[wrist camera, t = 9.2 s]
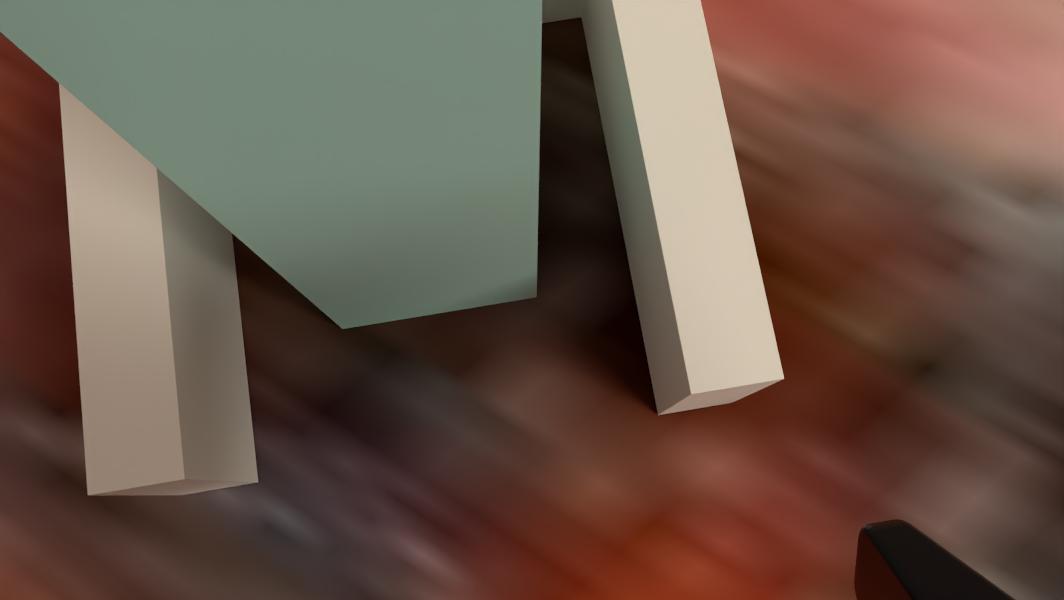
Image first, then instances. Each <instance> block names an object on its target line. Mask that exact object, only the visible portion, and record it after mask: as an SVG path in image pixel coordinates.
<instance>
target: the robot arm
mask: <svg viewBox="0 0 1064 600" xmlns="http://www.w3.org/2000/svg"><path fill="white" fill-rule="evenodd" d="M854 585H855V592H856V597H857V600H1015V599H1014V598H1012V597H1011V596H1010V595H1008V594H1007V593H1005V592H1004V591H1003V590H1001V589H1000V588H998V587H997V586H996V585H994V584H993V583H992V582H990V581H989V580H987V579H986V578H985V577H983V576H982V575H980V574H979V573H978V572H976V571H975V570H974V569H972V568H971V567H969V566H968V565H967V564H965V563H964V562H962V561H961V560H960V559H958V558H957V557H956V556H954V555H953V554H951V553H950V552H949V551H947V550H946V549H944V548H943V547H942V546H940V545H939V544H938V543H936V542H935V541H933V540H932V539H931V538H929V537H928V536H926V535H925V534H924V533H922V532H921V531H919V530H918V529H917V528H915V527H914V526H913V525H911V524H910V523H908V522H906V521H903V520H889V521H884V522H878V523H872V524H867V525H865V526H863V527H862V529H861V530H860V533H859V537H858V547H857V557H856V567H855V578H854Z"/></svg>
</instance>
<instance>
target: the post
mask: <svg viewBox="0 0 1064 600" xmlns="http://www.w3.org/2000/svg"><path fill="white" fill-rule="evenodd" d="M0 32H1V33H2V34H3V35H4V36H5V37H7V38H8V39H9V40H10V41H11V42H12V43H14V44H15V45H16V46H17V47H18V48H19V49H20V50H22V51H23V52H24V53H25V54H26V55H27V56H29V57H30V58H31V59H32V60H33V61H34V62H35V63H37V64H38V65H39V66H40V67H41V68H42V69H44V70H45V71H46V72H47V73H48V74H49V75H50V76H52V77H53V78H54V79H55V80H56V81H57V82H58V83H60V84H61V85H62V86H63V87H64V88H65V89H67V90H68V91H69V92H70V93H71V94H72V95H73V96H75V97H76V98H77V99H78V100H79V101H80V102H82V103H83V104H84V105H85V106H86V107H87V108H88V109H90V110H91V111H92V112H93V113H94V114H95V115H97V116H98V117H99V118H100V119H101V120H102V121H103V122H105V123H106V124H107V125H108V126H109V127H110V128H111V129H113V130H114V131H115V132H116V133H117V134H118V135H120V136H121V137H122V138H123V139H124V140H125V141H126V142H128V143H129V144H130V145H131V146H132V147H133V148H135V149H136V150H137V151H138V152H139V153H140V154H141V155H143V156H144V157H145V158H146V159H147V160H148V161H150V162H151V163H152V164H153V165H154V166H155V167H156V168H158V169H159V170H160V171H161V172H162V173H163V174H164V175H166V176H167V177H168V178H169V179H170V180H171V181H173V182H174V183H175V184H176V185H177V186H178V187H179V188H181V189H182V190H183V191H184V192H185V193H186V194H188V195H189V196H190V197H191V198H192V199H193V200H194V201H196V202H197V203H198V204H199V205H200V206H201V207H203V208H204V209H205V210H206V211H207V212H208V213H209V214H211V215H212V216H213V217H214V218H215V219H216V220H217V221H219V222H220V223H221V224H222V225H223V226H224V227H226V228H227V229H228V230H229V231H230V232H231V233H232V234H234V235H235V236H236V237H237V238H238V239H239V240H241V241H242V242H243V243H244V244H245V245H246V246H247V247H249V248H250V249H251V250H252V251H253V252H254V253H256V254H257V255H258V256H259V257H260V258H261V259H262V260H264V261H265V262H266V263H267V264H268V265H269V266H270V267H272V268H273V269H274V270H275V271H276V272H277V273H279V274H280V275H281V276H282V277H283V278H284V279H285V280H287V281H288V282H289V283H290V284H291V285H292V286H294V287H295V288H296V289H297V290H298V291H299V292H300V293H302V294H303V295H304V296H305V297H306V298H307V299H309V300H310V301H311V302H312V303H313V304H314V305H315V306H317V307H318V308H319V309H320V310H321V311H322V312H323V313H325V314H326V315H327V316H328V317H329V318H330V319H332V320H333V321H334V322H335V323H336V324H337V325H338V326H340V327H341V328H342V329H346V328H352V327H359V326H365V325H371V324H377V323H383V322H389V321H395V320H401V319H407V318H414V317H420V316H426V315H432V314H438V313H444V312H450V311H456V310H462V309H469V308H475V307H481V306H487V305H493V304H499V303H505V302H511V301H517V300H524V299H530V298H536V297H537V252H538V200H539V148H540V96H541V44H542V0H0Z"/></svg>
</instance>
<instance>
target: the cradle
mask: <svg viewBox="0 0 1064 600" xmlns="http://www.w3.org/2000/svg"><path fill="white" fill-rule="evenodd" d="M580 17H581V18H582V23H583V28H584V34H585V39H586V44H587V49H588V54H589V60H590V65H591V70H592V75H593V80H594V85H595V91H596V96H597V101H598V106H599V111H600V117H601V122H602V127H603V132H604V137H605V143H606V148H607V153H608V158H609V163H610V168H611V174H612V179H613V184H614V189H615V194H616V200H617V205H618V210H619V215H620V220H621V225H622V231H623V236H624V241H625V246H626V251H627V257H628V262H629V267H630V272H631V277H632V282H633V288H634V293H635V298H636V303H637V308H638V314H639V319H640V324H641V329H642V334H643V340H644V345H645V350H646V355H647V360H648V365H649V371H650V376H651V381H652V386H653V391H654V397H655V402H656V407H657V412H658V415H662V414H668V413H674V412H679V411H685V410H691V409H697V408H703V407H709V406H715V405H721V404H727V403H732V402H734V401H737V400H739V399H741V398H743V397H745V396H748V395H750V394H752V393H754V392H756V391H758V390H761V389H763V388H765V387H767V386H769V385H772V384H774V383H776V382H778V381H780V380H783V379H784V375H783V371H782V366H781V362H780V357H779V353H778V348H777V344H776V339H775V335H774V330H773V326H772V321H771V317H770V312H769V308H768V303H767V299H766V294H765V290H764V285H763V281H762V276H761V272H760V267H759V263H758V258H757V254H756V249H755V245H754V240H753V235H752V231H751V226H750V222H749V217H748V213H747V208H746V204H745V199H744V195H743V190H742V186H741V181H740V177H739V172H738V168H737V163H736V159H735V154H734V150H733V145H732V141H731V136H730V132H729V127H728V123H727V118H726V114H725V109H724V105H723V100H722V96H721V91H720V87H719V82H718V78H717V73H716V68H715V64H714V59H713V55H712V50H711V46H710V41H709V37H708V32H707V28H706V23H705V19H704V14H703V10H702V5H701V1H700V0H542V23H547V22H554V21H560V20H567V19H573V18H580ZM59 91H60V105H61V120H62V134H63V148H64V163H65V177H66V191H67V206H68V220H69V234H70V249H71V263H72V277H73V291H74V306H75V320H76V334H77V349H78V363H79V377H80V392H81V406H82V420H83V435H84V449H85V463H86V478H87V492H88V495H186V494H192V493H198V492H204V491H210V490H215V489H221V488H227V487H233V486H239V485H245V484H251V483H257V482H258V474H257V465H256V455H255V446H254V436H253V427H252V417H251V408H250V399H249V389H248V380H247V370H246V361H245V351H244V342H243V333H242V323H241V314H240V304H239V295H238V285H237V276H236V267H235V257H234V248H233V238H232V233H231V232H230V231H229V230H228V229H227V228H226V227H224V226H223V225H222V224H221V223H220V222H219V221H217V220H216V219H215V218H214V217H213V216H212V215H211V214H209V213H208V212H207V211H206V210H205V209H204V208H203V207H201V206H200V205H199V204H198V203H197V202H196V201H194V200H193V199H192V198H191V197H190V196H189V195H188V194H186V193H185V192H184V191H183V190H182V189H181V188H179V187H178V186H177V185H176V184H175V183H174V182H173V181H171V180H170V179H169V178H168V177H167V176H166V175H164V174H163V173H162V172H161V171H160V170H159V169H158V168H156V167H155V166H154V165H153V164H152V163H151V162H150V161H148V160H147V159H146V158H145V157H144V156H143V155H141V154H140V153H139V152H138V151H137V150H136V149H135V148H133V147H132V146H131V145H130V144H129V143H128V142H126V141H125V140H124V139H123V138H122V137H121V136H120V135H118V134H117V133H116V132H115V131H114V130H113V129H111V128H110V127H109V126H108V125H107V124H106V123H105V122H103V121H102V120H101V119H100V118H99V117H98V116H97V115H95V114H94V113H93V112H92V111H91V110H90V109H88V108H87V107H86V106H85V105H84V104H83V103H82V102H80V101H79V100H78V99H77V98H76V97H75V96H73V95H72V94H71V93H70V92H69V91H68V90H67V89H65V88H64V87H63V86H62V85H61V84H60V83H59Z"/></svg>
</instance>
